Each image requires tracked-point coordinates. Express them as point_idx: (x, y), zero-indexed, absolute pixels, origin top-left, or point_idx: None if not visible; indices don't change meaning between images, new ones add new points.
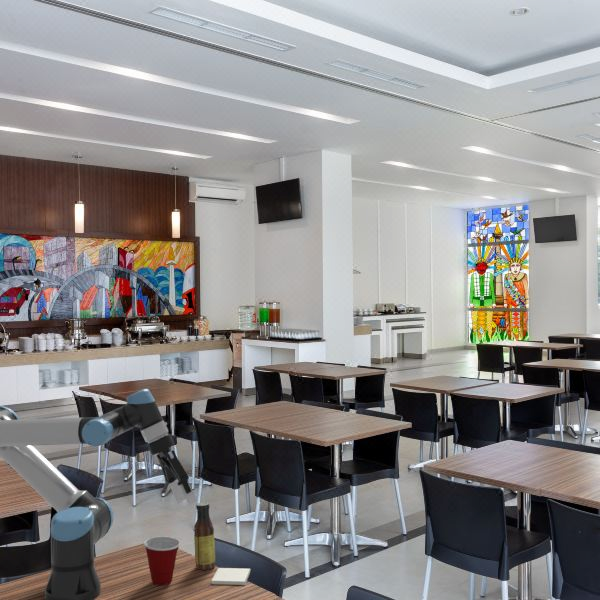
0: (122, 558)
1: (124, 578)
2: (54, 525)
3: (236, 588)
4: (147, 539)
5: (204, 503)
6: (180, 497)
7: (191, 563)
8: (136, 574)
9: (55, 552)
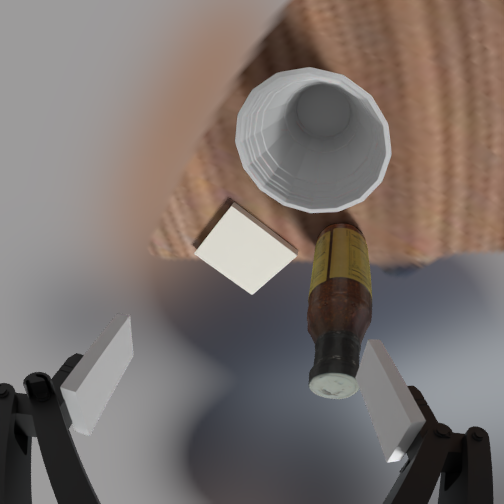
0: None
1: (413, 40)
2: None
3: (188, 229)
4: (378, 108)
5: (334, 391)
6: (366, 372)
7: (390, 231)
8: (421, 80)
9: None
